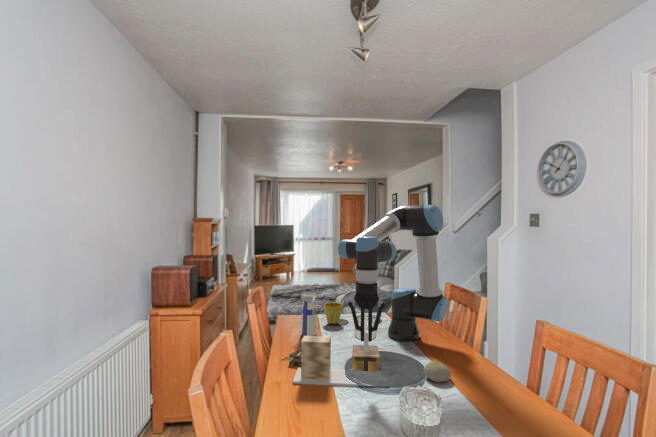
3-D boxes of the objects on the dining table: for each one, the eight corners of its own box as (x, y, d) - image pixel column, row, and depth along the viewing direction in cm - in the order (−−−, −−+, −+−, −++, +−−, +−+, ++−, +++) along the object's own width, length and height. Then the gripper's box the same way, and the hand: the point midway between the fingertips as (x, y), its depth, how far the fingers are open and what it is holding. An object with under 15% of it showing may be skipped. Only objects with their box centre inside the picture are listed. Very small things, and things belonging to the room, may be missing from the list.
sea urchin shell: (449, 366, 123) (451, 358, 117) (449, 389, 118) (451, 382, 112) (424, 362, 126) (424, 354, 120) (423, 384, 121) (423, 377, 115)
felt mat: (385, 373, 123) (385, 370, 123) (389, 387, 112) (389, 385, 112) (298, 369, 126) (298, 367, 126) (292, 383, 115) (292, 381, 115)
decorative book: (293, 352, 143) (293, 341, 143) (330, 360, 135) (330, 348, 135) (275, 364, 131) (275, 352, 131) (313, 374, 123) (313, 360, 123)
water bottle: (320, 332, 168) (320, 283, 168) (310, 337, 160) (311, 285, 161) (307, 329, 172) (307, 281, 172) (297, 334, 165) (297, 284, 165)
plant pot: (336, 326, 178) (336, 307, 178) (320, 323, 183) (320, 305, 183) (345, 321, 187) (345, 303, 187) (329, 318, 192) (330, 301, 192)
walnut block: (379, 373, 121) (377, 361, 134) (379, 356, 122) (377, 345, 135) (352, 372, 122) (352, 360, 135) (352, 355, 122) (352, 344, 135)
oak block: (330, 371, 123) (330, 336, 123) (329, 379, 117) (329, 342, 117) (303, 370, 123) (303, 335, 123) (301, 378, 117) (301, 341, 117)
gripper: (384, 280, 117) (384, 347, 117) (347, 279, 118) (347, 345, 118) (386, 284, 110) (386, 355, 109) (347, 283, 111) (346, 354, 111)
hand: (366, 350), depth 114 cm, fingers closed
